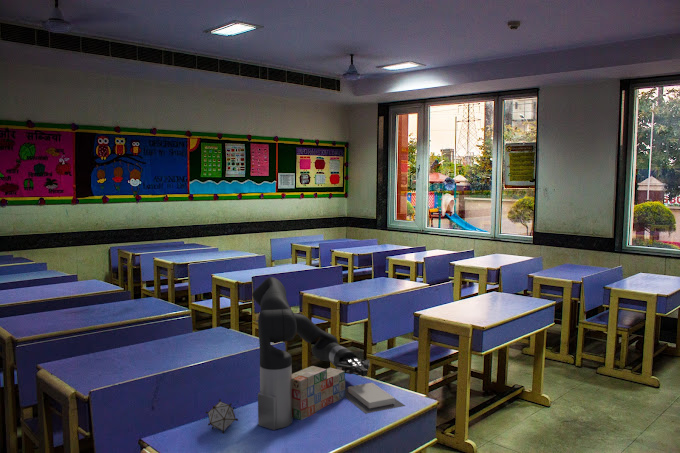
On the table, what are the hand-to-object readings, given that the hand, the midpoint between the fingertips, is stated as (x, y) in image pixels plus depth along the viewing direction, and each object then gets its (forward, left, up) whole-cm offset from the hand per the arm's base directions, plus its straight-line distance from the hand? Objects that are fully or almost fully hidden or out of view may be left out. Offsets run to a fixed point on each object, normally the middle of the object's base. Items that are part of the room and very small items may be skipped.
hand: (365, 373), depth 179 cm
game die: (-44, +21, -8) cm, 49 cm away
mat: (-2, -3, -7) cm, 8 cm away
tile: (+2, +3, -6) cm, 7 cm away
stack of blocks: (-16, +8, -8) cm, 20 cm away
